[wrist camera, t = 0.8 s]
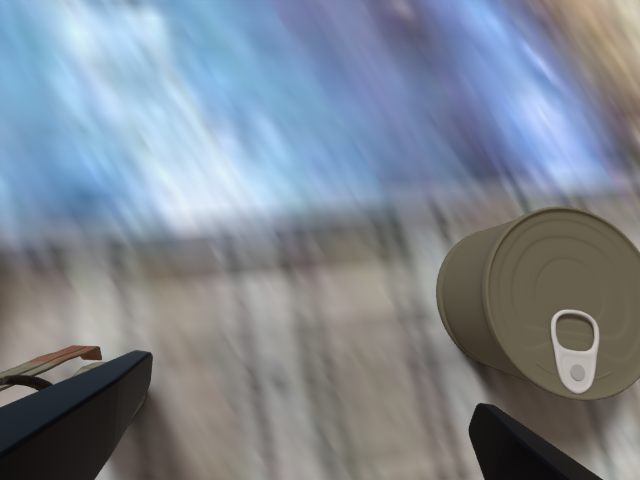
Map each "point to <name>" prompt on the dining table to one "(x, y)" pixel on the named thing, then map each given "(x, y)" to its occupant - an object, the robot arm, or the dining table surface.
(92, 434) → the robot arm
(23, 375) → the grenade model
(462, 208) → the dining table surface
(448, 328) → the can
